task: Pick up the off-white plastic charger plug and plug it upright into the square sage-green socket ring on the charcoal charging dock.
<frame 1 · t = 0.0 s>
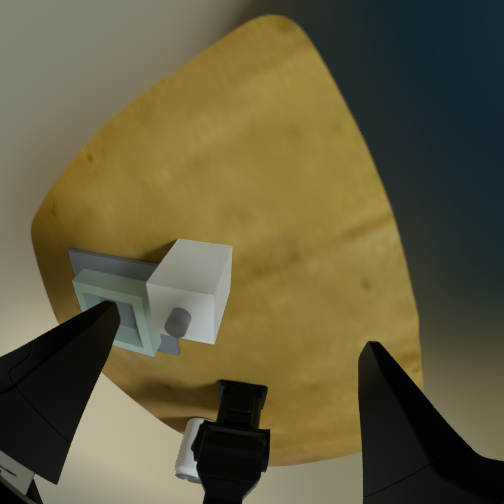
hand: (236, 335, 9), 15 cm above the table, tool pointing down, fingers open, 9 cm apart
charger plug: (204, 265, 26), on the table
can: (205, 423, 43), on the table
charging dock: (124, 303, 30), on the table
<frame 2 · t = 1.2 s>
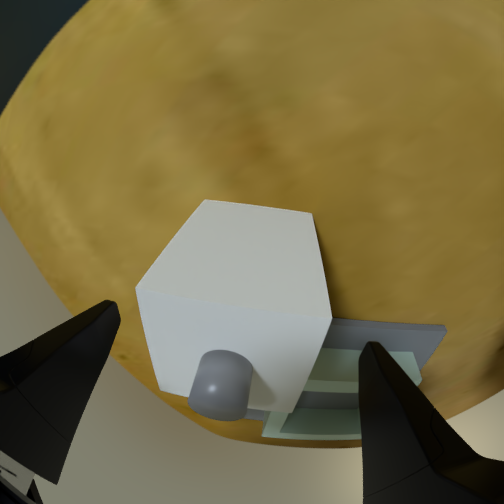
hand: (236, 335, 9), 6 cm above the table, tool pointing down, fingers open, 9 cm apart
charger plug: (252, 252, 14), on the table
charging dock: (332, 382, 18), on the table
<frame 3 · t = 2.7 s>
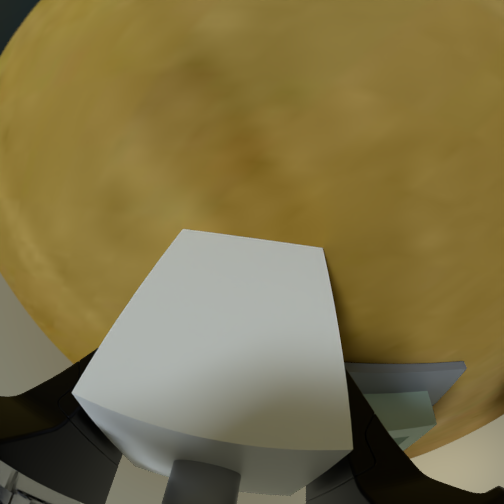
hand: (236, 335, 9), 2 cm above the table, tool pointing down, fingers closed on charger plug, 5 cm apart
charger plug: (245, 294, 11), on the table, touching gripper
charging dock: (337, 420, 15), on the table
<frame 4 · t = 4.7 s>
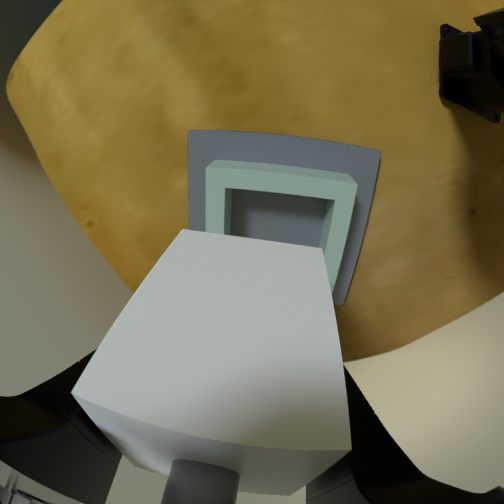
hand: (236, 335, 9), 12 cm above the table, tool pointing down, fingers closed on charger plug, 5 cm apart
charger plug: (245, 294, 11), point 10 cm above the table, touching gripper
charging dock: (276, 223, 20), on the table
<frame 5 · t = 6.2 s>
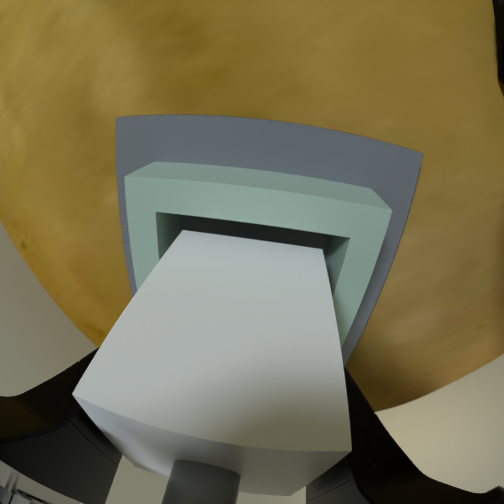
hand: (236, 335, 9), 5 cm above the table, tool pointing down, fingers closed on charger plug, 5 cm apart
charger plug: (245, 295, 11), point 3 cm above the table, touching gripper
charging dock: (252, 261, 13), on the table
when the fingers open (4 cm above the table, at t = 7.2 s): charger plug drops 1 cm, resting on charging dock.
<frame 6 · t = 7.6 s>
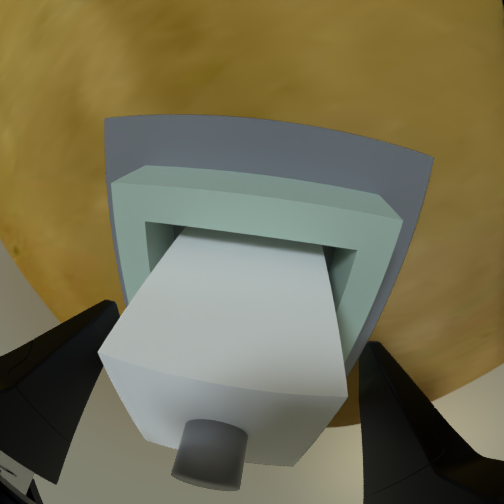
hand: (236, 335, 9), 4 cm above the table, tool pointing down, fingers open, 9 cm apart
charger plug: (249, 279, 12), point 1 cm above the table, touching charging dock
charging dock: (250, 270, 12), on the table
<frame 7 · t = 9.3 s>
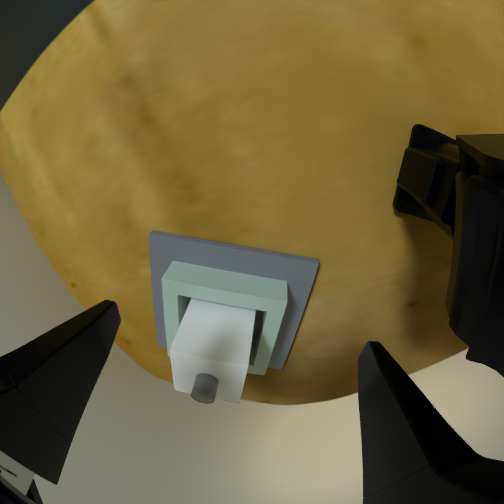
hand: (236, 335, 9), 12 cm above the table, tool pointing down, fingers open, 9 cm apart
charger plug: (224, 314, 23), point 1 cm above the table, touching charging dock
charging dock: (225, 309, 24), on the table
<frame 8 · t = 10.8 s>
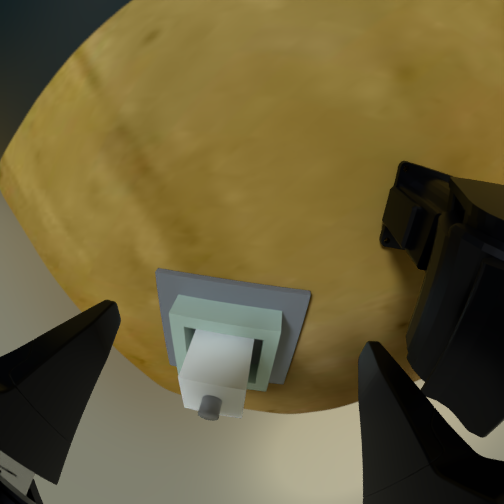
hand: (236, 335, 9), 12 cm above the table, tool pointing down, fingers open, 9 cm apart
charger plug: (227, 338, 25), point 1 cm above the table, touching charging dock
charging dock: (228, 334, 26), on the table
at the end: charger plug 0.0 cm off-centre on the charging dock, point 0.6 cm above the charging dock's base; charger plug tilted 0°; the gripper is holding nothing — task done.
